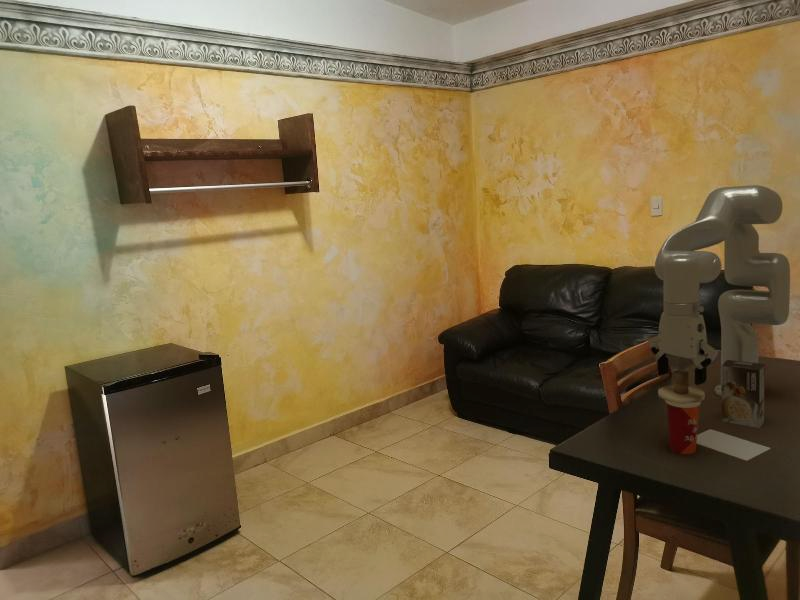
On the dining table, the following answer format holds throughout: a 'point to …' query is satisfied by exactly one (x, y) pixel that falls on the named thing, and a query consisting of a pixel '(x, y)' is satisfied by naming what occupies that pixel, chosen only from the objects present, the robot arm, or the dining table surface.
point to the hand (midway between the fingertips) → (681, 378)
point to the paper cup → (683, 426)
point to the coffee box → (743, 393)
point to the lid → (681, 390)
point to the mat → (730, 444)
